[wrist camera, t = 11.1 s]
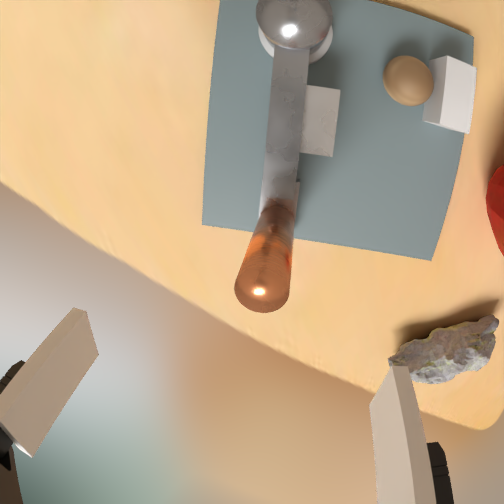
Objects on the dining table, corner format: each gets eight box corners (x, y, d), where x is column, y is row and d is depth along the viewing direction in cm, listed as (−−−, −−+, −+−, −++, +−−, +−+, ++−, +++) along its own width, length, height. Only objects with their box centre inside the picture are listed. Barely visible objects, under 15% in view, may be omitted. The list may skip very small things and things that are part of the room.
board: (225, -11, 21) (210, -31, 17) (468, 38, 19) (494, 31, 15) (205, 220, 32) (189, 241, 28) (427, 255, 30) (444, 280, 26)
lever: (268, 6, 20) (244, -56, 10) (340, 14, 20) (365, -44, 9) (249, 231, 30) (218, 306, 19) (313, 240, 29) (317, 320, 19)
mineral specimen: (384, 372, 38) (392, 410, 32) (383, 335, 36) (392, 374, 30) (482, 345, 34) (498, 378, 28) (488, 306, 32) (510, 338, 26)
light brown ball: (379, 53, 21) (393, 45, 17) (424, 67, 21) (444, 61, 17) (374, 99, 23) (387, 98, 19) (419, 111, 23) (438, 113, 19)
